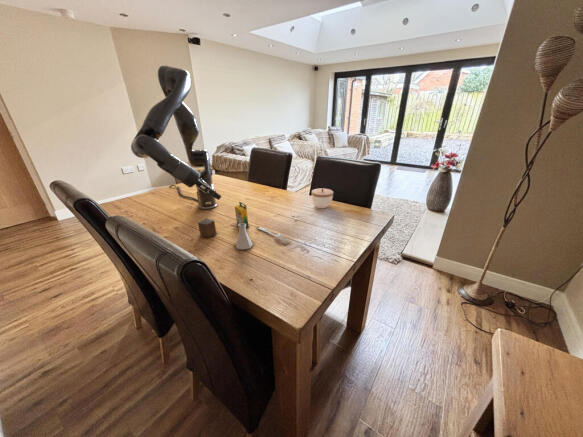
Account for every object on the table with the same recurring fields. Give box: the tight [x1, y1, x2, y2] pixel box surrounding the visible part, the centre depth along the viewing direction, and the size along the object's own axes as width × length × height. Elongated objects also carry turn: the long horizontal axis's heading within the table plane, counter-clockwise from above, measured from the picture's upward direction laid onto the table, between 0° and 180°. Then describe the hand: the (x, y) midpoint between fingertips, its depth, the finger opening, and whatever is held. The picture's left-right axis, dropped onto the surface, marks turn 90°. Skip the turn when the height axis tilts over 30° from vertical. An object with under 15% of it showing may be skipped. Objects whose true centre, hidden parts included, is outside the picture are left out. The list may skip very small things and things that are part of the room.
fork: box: [257, 226, 290, 245], centre depth 108 cm, size 3×21×3 cm, turn 43°
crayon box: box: [234, 201, 249, 229], centre depth 115 cm, size 7×3×12 cm, turn 39°
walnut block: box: [197, 218, 217, 239], centre depth 108 cm, size 5×5×7 cm
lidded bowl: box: [311, 187, 334, 209], centre depth 138 cm, size 13×13×11 cm
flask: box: [235, 223, 254, 251], centre depth 98 cm, size 7×7×10 cm
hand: (217, 195), depth 105 cm, fingers open, 8 cm apart
